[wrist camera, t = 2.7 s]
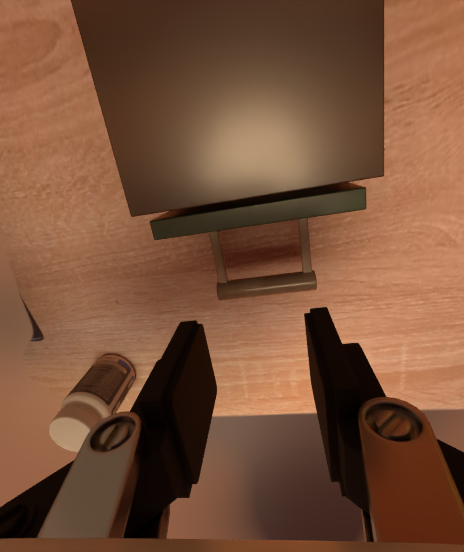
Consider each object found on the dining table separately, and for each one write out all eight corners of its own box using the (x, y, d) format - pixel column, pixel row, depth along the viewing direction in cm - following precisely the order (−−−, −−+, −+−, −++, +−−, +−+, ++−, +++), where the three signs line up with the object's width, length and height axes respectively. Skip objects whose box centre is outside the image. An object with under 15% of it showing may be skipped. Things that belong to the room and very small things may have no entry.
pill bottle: (87, 358, 33) (33, 418, 26) (125, 349, 32) (81, 409, 25) (106, 392, 35) (60, 459, 27) (142, 384, 34) (106, 452, 26)
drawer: (339, 262, 26) (368, 302, 19) (198, 280, 28) (175, 322, 21) (325, -21, 19) (360, -129, 12) (143, 27, 21) (80, -42, 14)
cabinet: (340, 170, 24) (384, 176, 15) (176, 197, 26) (130, 217, 17) (329, -72, 19) (384, -272, 10) (129, -14, 21) (31, -139, 12)
